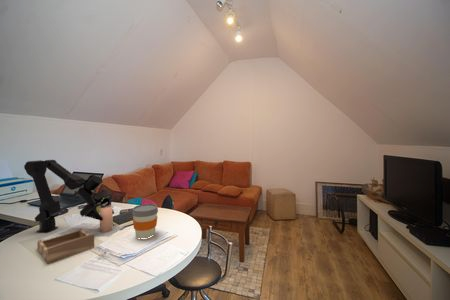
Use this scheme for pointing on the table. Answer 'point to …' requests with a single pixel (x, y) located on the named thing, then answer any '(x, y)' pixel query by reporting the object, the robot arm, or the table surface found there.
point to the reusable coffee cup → (145, 220)
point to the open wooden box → (65, 245)
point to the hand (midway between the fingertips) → (108, 216)
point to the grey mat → (107, 234)
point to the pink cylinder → (106, 218)
